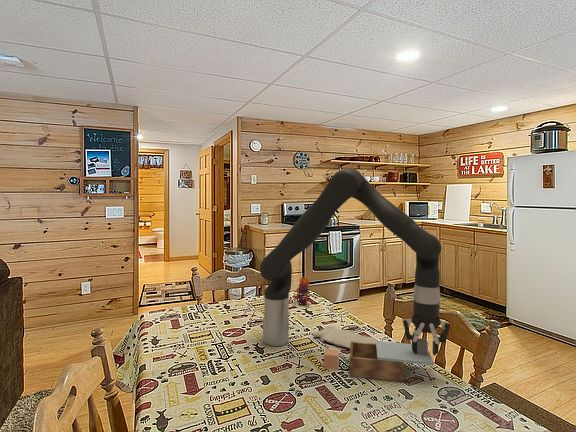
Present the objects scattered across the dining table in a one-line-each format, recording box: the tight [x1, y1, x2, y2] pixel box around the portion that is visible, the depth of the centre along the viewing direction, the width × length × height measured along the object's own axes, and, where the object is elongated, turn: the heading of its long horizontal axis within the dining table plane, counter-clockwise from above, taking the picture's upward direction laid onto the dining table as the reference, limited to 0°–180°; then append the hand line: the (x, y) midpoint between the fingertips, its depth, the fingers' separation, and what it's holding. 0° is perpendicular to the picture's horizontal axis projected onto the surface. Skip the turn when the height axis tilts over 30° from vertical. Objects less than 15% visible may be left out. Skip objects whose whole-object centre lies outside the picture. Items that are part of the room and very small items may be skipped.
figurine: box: [291, 274, 311, 307], centre depth 175 cm, size 8×9×15 cm
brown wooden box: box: [348, 342, 405, 383], centre depth 112 cm, size 16×12×6 cm
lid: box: [376, 337, 435, 366], centre depth 110 cm, size 16×12×5 cm
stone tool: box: [312, 325, 379, 349], centre depth 132 cm, size 13×4×25 cm
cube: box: [323, 348, 340, 370], centre depth 115 cm, size 4×4×4 cm
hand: (424, 353), depth 108 cm, fingers open, 5 cm apart
